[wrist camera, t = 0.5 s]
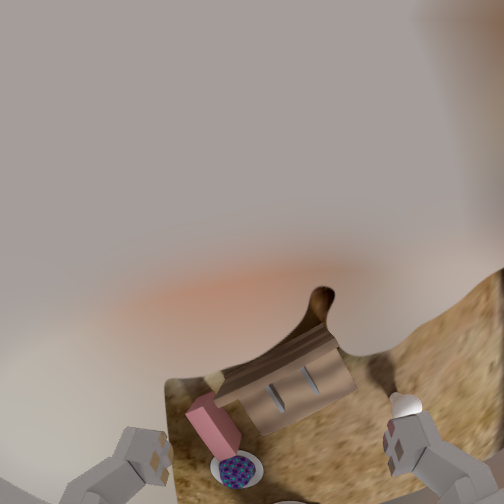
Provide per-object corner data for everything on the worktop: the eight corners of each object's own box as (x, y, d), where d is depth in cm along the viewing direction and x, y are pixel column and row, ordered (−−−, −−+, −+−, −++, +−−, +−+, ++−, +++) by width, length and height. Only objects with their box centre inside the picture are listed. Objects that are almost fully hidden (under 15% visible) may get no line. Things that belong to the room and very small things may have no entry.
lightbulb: (378, 389, 56) (395, 408, 45) (404, 378, 55) (425, 395, 44) (382, 412, 55) (399, 434, 44) (407, 402, 55) (428, 421, 44)
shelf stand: (356, 386, 56) (374, 410, 43) (263, 434, 57) (258, 466, 44) (321, 322, 58) (332, 333, 45) (224, 374, 59) (210, 397, 46)
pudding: (200, 461, 58) (194, 472, 52) (241, 439, 57) (238, 451, 52) (232, 492, 56) (229, 505, 51) (274, 473, 56) (273, 486, 51)
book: (242, 434, 57) (236, 455, 48) (226, 441, 57) (218, 461, 48) (213, 390, 59) (202, 406, 50) (197, 397, 59) (185, 413, 50)
